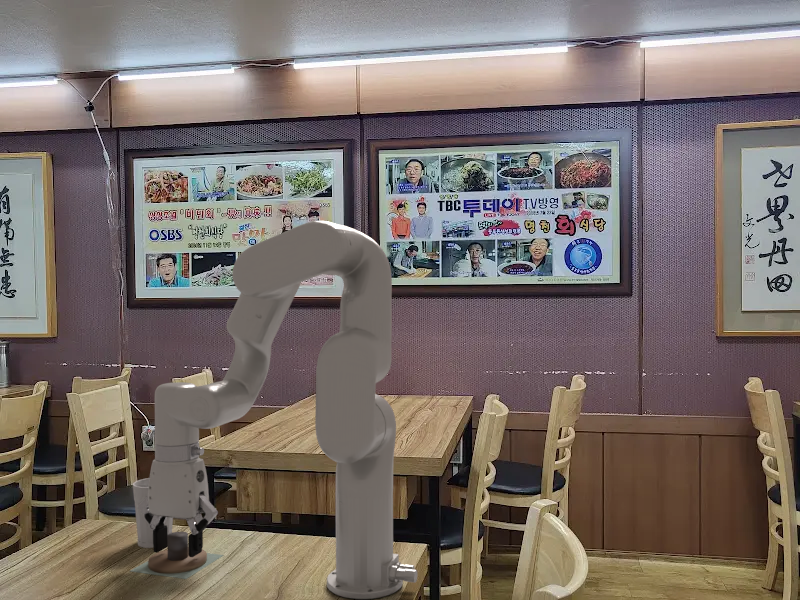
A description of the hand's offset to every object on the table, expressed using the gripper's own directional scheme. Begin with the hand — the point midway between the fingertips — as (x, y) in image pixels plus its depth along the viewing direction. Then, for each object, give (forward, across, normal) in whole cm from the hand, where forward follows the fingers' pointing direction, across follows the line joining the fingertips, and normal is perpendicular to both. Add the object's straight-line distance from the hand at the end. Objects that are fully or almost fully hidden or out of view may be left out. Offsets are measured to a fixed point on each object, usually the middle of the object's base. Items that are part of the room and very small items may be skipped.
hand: (177, 551), depth 126 cm
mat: (+2, 0, 0) cm, 2 cm away
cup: (+3, +11, -8) cm, 14 cm away
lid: (+2, 0, 0) cm, 2 cm away
